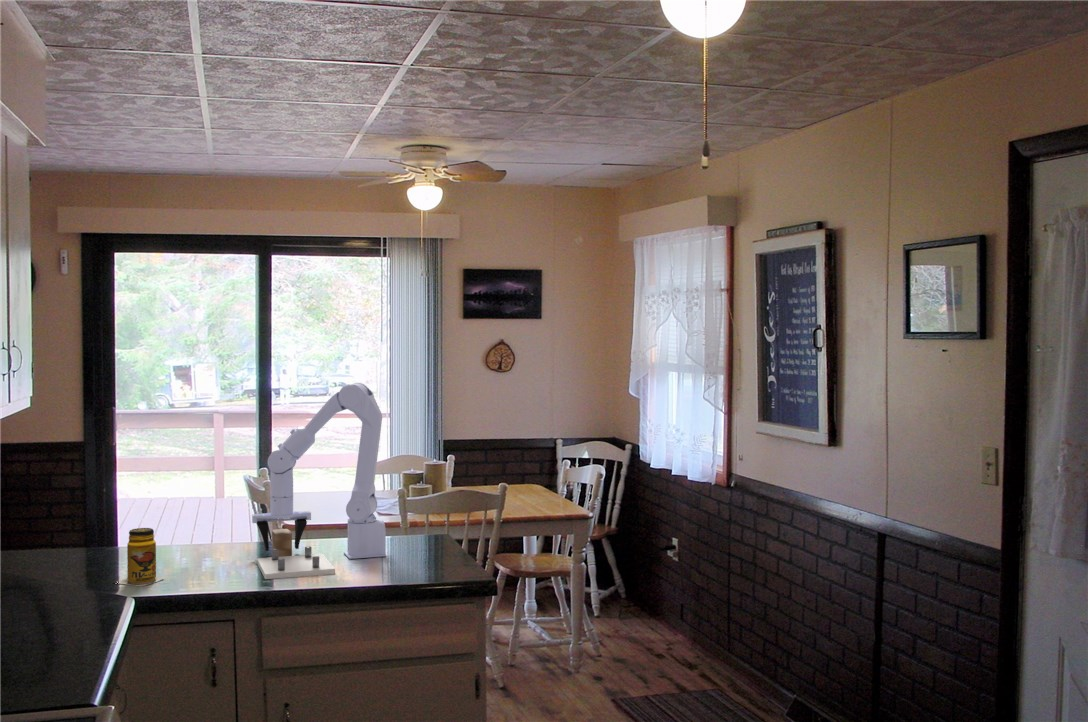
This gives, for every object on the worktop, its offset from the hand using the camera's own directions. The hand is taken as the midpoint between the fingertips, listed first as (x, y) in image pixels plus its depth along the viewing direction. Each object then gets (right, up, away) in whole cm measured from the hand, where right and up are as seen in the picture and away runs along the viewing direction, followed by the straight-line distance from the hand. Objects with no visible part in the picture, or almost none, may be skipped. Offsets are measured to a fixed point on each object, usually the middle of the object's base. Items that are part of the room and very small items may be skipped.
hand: (281, 549), depth 261 cm
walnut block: (0, -2, 0) cm, 2 cm away
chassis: (+7, -2, -15) cm, 17 cm away
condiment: (-25, -2, -29) cm, 39 cm away
